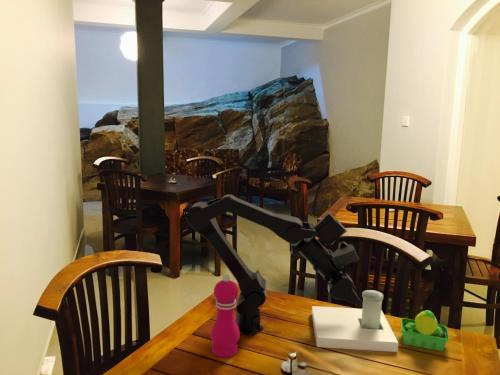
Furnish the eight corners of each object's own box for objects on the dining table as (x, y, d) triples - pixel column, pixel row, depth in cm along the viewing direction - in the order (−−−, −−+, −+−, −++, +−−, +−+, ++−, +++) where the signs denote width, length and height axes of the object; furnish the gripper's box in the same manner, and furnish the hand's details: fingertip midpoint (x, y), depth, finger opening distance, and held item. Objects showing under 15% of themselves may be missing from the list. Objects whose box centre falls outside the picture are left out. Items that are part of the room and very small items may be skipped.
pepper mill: (235, 361, 103) (237, 282, 100) (206, 356, 105) (207, 278, 101) (242, 345, 110) (244, 271, 107) (215, 341, 112) (216, 268, 108)
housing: (316, 350, 109) (317, 337, 108) (311, 317, 126) (312, 306, 126) (397, 355, 108) (398, 342, 107) (380, 321, 125) (381, 310, 125)
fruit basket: (444, 343, 114) (449, 303, 112) (447, 360, 106) (452, 318, 104) (399, 334, 118) (403, 296, 116) (399, 351, 110) (402, 309, 108)
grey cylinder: (355, 331, 117) (358, 293, 115) (366, 325, 120) (369, 288, 118) (372, 339, 113) (376, 300, 111) (384, 333, 116) (387, 295, 114)
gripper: (346, 246, 103) (389, 292, 105) (336, 226, 122) (373, 265, 123) (311, 276, 105) (354, 320, 106) (307, 252, 124) (343, 290, 125)
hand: (357, 297), depth 115 cm, fingers open, 9 cm apart
